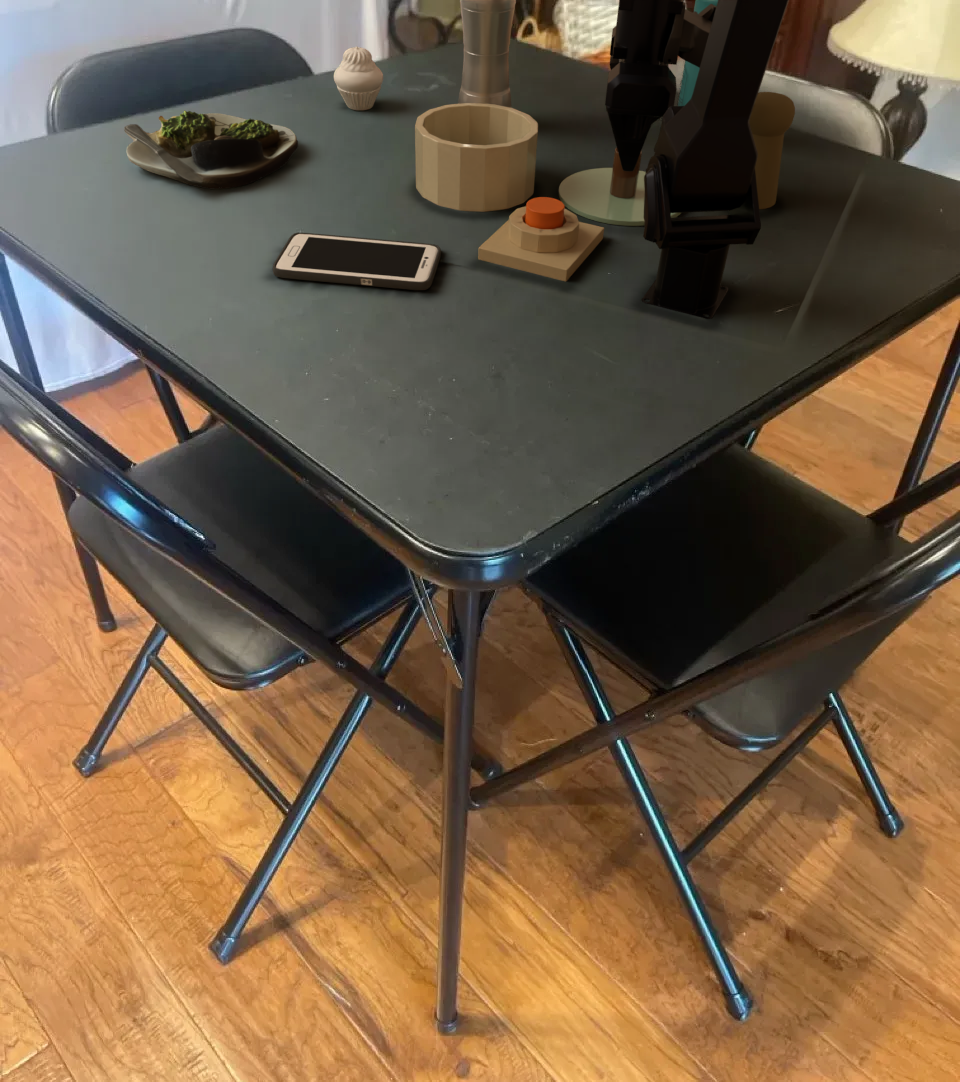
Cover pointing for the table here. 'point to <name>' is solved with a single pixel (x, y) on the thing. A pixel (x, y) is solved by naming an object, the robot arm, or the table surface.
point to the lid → (607, 194)
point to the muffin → (358, 79)
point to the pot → (475, 156)
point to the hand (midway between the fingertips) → (628, 153)
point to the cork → (769, 141)
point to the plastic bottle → (486, 51)
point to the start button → (544, 213)
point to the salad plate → (211, 149)
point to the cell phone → (358, 261)
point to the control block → (542, 245)
